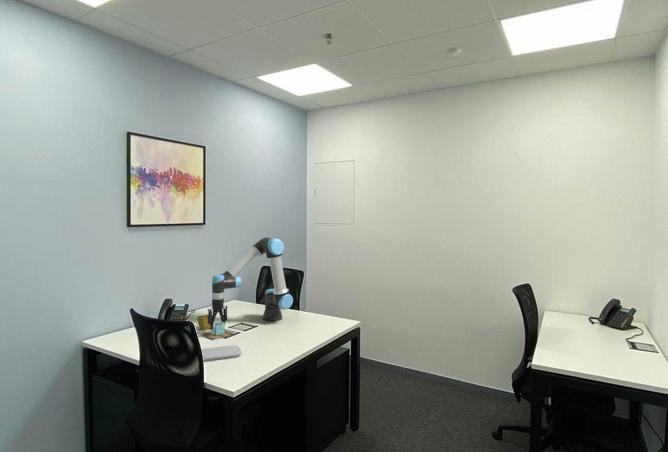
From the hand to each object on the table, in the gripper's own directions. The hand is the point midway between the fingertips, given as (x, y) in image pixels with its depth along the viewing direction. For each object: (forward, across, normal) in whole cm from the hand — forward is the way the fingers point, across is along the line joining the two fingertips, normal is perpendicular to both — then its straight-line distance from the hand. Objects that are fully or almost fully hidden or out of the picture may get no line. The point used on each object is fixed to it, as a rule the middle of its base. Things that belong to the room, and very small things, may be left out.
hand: (217, 332), depth 254 cm
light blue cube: (0, 0, 0) cm, 0 cm away
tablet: (+2, +21, +31) cm, 37 cm away
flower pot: (+2, -2, -17) cm, 17 cm away
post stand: (+1, 0, 0) cm, 1 cm away
